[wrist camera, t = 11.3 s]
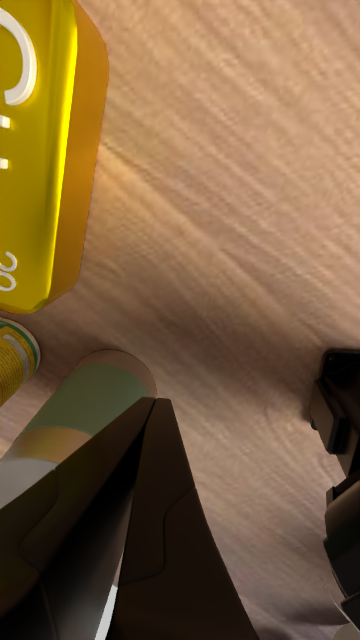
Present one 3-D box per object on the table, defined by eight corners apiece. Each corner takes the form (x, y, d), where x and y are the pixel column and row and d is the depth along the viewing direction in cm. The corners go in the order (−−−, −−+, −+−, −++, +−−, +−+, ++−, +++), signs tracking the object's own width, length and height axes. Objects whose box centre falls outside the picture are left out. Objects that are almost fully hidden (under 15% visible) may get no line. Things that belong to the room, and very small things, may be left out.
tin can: (155, 351, 22) (111, 465, 13) (158, 424, 24) (123, 563, 15) (67, 346, 23) (-36, 451, 13) (79, 418, 25) (0, 547, 16)
